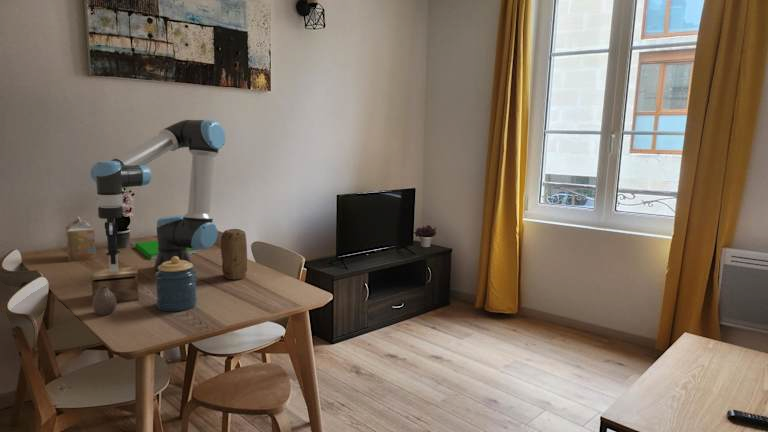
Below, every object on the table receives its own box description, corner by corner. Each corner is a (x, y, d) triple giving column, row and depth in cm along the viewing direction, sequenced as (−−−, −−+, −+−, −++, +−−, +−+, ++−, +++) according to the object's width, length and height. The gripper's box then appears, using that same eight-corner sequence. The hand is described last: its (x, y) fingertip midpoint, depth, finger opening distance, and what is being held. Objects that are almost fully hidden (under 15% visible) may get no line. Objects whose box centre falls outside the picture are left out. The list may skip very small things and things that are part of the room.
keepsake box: (138, 290, 190) (137, 269, 188) (138, 300, 179) (137, 278, 178) (95, 294, 184) (94, 273, 182) (93, 305, 173) (91, 282, 172)
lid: (137, 268, 188) (137, 265, 188) (137, 275, 178) (137, 272, 177) (93, 272, 182) (93, 269, 182) (90, 280, 171) (90, 276, 171)
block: (249, 278, 209) (248, 230, 206) (233, 281, 204) (232, 233, 200) (235, 272, 216) (234, 227, 213) (219, 276, 211) (217, 229, 207)
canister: (156, 314, 166) (154, 262, 163) (156, 301, 178) (154, 253, 175) (198, 309, 171) (196, 259, 168) (196, 298, 183) (194, 250, 180)
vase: (100, 318, 161) (98, 292, 160) (88, 314, 165) (86, 288, 163) (121, 312, 167) (119, 287, 166) (109, 308, 171) (107, 283, 169)
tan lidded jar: (96, 259, 231) (93, 218, 228) (69, 262, 226) (66, 220, 222) (94, 254, 240) (91, 215, 237) (68, 257, 234) (64, 216, 231)
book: (181, 243, 269) (180, 238, 268) (198, 254, 247) (198, 248, 247) (135, 248, 255) (135, 243, 255) (149, 260, 233) (149, 254, 233)
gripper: (99, 203, 177) (102, 268, 181) (96, 209, 166) (100, 278, 170) (123, 203, 181) (126, 266, 185) (122, 208, 169) (125, 276, 173)
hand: (114, 272), depth 177 cm, fingers closed
